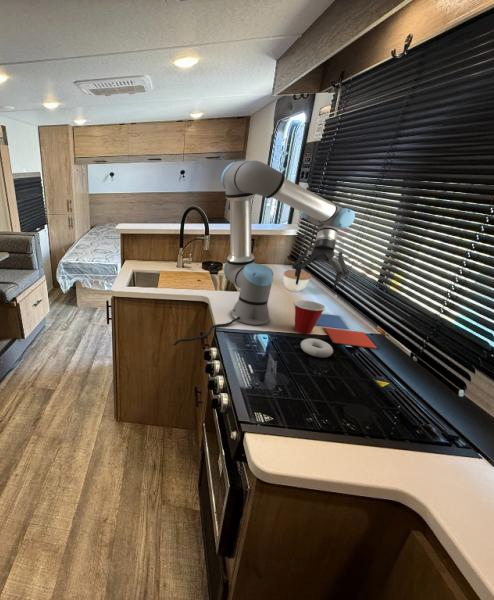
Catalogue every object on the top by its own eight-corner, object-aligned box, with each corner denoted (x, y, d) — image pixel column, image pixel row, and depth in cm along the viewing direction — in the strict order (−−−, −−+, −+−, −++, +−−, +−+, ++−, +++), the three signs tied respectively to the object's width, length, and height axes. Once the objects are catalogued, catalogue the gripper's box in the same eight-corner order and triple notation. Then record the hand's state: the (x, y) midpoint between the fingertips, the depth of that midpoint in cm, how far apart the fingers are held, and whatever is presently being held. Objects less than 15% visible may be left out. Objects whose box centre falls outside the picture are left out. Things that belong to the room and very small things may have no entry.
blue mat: (348, 329, 127) (348, 328, 126) (309, 324, 131) (310, 323, 130) (338, 316, 137) (338, 315, 137) (303, 312, 141) (303, 311, 141)
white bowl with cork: (298, 295, 159) (303, 275, 155) (275, 288, 169) (280, 269, 165) (311, 290, 165) (316, 271, 161) (288, 283, 175) (293, 265, 171)
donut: (326, 346, 115) (296, 342, 117) (328, 338, 113) (298, 334, 116) (335, 361, 106) (303, 356, 108) (338, 353, 104) (306, 348, 107)
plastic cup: (309, 324, 130) (317, 298, 125) (323, 337, 120) (331, 310, 116) (283, 323, 131) (289, 298, 126) (294, 336, 121) (301, 309, 117)
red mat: (377, 349, 113) (377, 348, 113) (333, 343, 117) (333, 342, 117) (363, 333, 123) (363, 332, 123) (323, 328, 127) (324, 327, 127)
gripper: (359, 249, 131) (350, 294, 126) (293, 244, 145) (282, 284, 140) (362, 240, 125) (353, 286, 120) (293, 235, 139) (282, 277, 134)
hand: (315, 285), depth 130 cm, fingers open, 13 cm apart
